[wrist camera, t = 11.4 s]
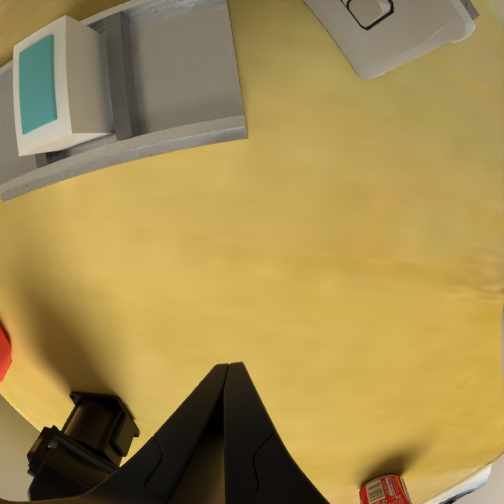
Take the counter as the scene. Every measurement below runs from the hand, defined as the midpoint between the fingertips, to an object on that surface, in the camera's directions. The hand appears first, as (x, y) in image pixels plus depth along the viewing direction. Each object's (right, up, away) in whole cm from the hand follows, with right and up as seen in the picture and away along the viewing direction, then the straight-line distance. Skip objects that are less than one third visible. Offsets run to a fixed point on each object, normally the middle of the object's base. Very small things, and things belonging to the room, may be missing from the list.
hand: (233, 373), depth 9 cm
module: (-10, +14, +7) cm, 19 cm away
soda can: (+19, -30, +23) cm, 43 cm away
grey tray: (-10, +14, +8) cm, 19 cm away
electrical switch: (+7, +19, +6) cm, 21 cm away
